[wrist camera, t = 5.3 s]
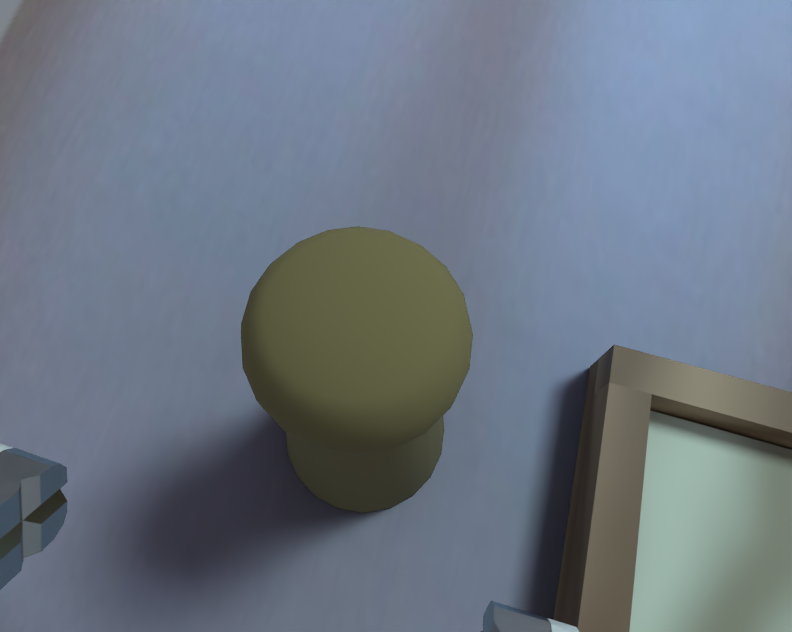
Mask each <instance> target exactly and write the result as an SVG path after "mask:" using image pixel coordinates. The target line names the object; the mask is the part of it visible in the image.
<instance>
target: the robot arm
mask: <svg viewBox="0 0 792 632" xmlns="http://www.w3.org/2000/svg"><path fill="white" fill-rule="evenodd" d="M66 483H67V468H66V467H65V466H63V465H62V464H60V463H57V462H54V461H51V460H48V459H45V458H43V457H40V456H37V455H34V454H31V453H28V452H25V451H23V450H20V449H17V448H12V447H10V446H7V445H4V444H1V443H0V590H1V589H2V588H3V587H4V586H5V585H6V584H7V583H8V582H9V581H10V580H11V579H12V578H14V577H15V576H16V575H17V574H18V573H19V572H20V571H21V569H22V564H23V558H25V557H28V556H31V555H33V554H36V553H39V552H41V551H42V550H43V549H44V548H45V547H46V546H47V545H48V544H49V543H50V542H51V541H53V540H54V538H55V536H56V535H57V533H58V532H59V530H60V529H61V527H62V525H63V523H64V520H65V517H66V513H67V500H66V498H65V497H64V495H63V493H62V492H61V490H60V488H61V487H63V486H64V485H65V484H66ZM481 632H579V631H578V629H577V627H575V626H571V625H568V624H565V623H562V622H558V621H555V620H552V619H549V618H548V619H546V618H545V617H542V616H539V615H536V614H532V613H529V612H526V611H523V610H520V609H516V608H513V607H510V606H507V605H503V604H500V603H497V602H494V601H491V602H490V603H489V605H488V606H487V609H486V611H485V613H484V616H483V631H481Z"/></svg>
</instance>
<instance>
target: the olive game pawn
mask: <svg viewBox="0 0 792 632" xmlns="http://www.w3.org/2000/svg"><path fill="white" fill-rule="evenodd" d="M472 338H473V333H472V329H471V324H470V320H469V316H468V311H467V307H466V303H465V299H464V294H463V293H462V291H461V289H460V288H459V286H458V285H457V283H456V281H455V280H454V278H453V277H452V275H451V273H450V272H449V270H448V269H447V267H446V266H445V265H444V264H443V263H441V262H440V261H439V260H438V259H437V258H436V257H434V256H433V255H432V254H431V253H430V252H429V251H427V250H426V249H425V248H424V247H423V246H421V245H419V244H417V243H415V242H412V241H410V240H408V239H406V238H404V237H401V236H399V235H397V234H395V233H392V232H390V231H386V230H379V229H372V228H366V227H359V226H358V227H350V228H341V229H333V230H327V231H325V232H322V233H320V234H317V235H315V236H312V237H310V238H307V239H305V240H302V241H300V242H298V243H297V244H295V245H294V246H293V247H291V248H290V249H289V250H288V251H286V252H285V253H284V254H283V255H281V256H280V257H279V258H277V259H276V260H275V261H274V262H272V263H271V264H270V265H269V266H268V268H267V269H266V271H265V272H264V273H263V275H262V276H261V278H260V279H259V281H258V282H257V283H256V285H255V286H254V288H253V289H252V291H251V293H250V296H249V299H248V303H247V306H246V310H245V313H244V316H243V320H242V323H241V344H242V363H243V369H244V372H245V374H246V376H247V379H248V381H249V383H250V386H251V388H252V390H253V393H254V395H255V398H256V400H257V401H258V402H259V404H260V405H261V406H262V407H263V408H264V409H265V411H266V412H267V413H268V414H269V415H270V416H271V417H272V418H273V419H274V420H275V421H276V422H277V424H278V425H279V426H280V427H281V428H282V429H283V430H284V431H285V432H286V438H287V450H288V455H289V458H290V460H291V462H292V465H293V467H294V469H295V472H296V474H297V476H298V478H299V479H300V480H301V481H302V482H303V483H304V484H305V485H306V487H307V488H308V489H309V490H310V491H311V492H312V493H313V494H314V495H315V496H316V497H318V498H320V499H321V500H323V501H325V502H327V503H329V504H331V505H332V506H334V507H336V508H338V509H344V510H350V511H356V512H362V513H365V512H371V511H377V510H383V509H389V508H391V507H393V506H395V505H397V504H399V503H401V502H402V501H404V500H406V499H408V498H410V497H412V496H413V495H414V494H415V493H416V492H417V491H418V490H419V489H420V488H421V487H422V486H423V484H424V483H425V482H426V481H427V480H428V479H429V478H430V477H431V475H432V473H433V470H434V468H435V466H436V464H437V462H438V460H439V457H440V455H441V451H442V442H443V434H444V422H443V415H444V414H445V413H446V412H447V411H448V410H449V409H450V408H451V406H452V404H453V402H454V400H455V398H456V396H457V394H458V392H459V390H460V388H461V385H462V383H463V381H464V379H465V377H466V375H467V373H468V371H469V367H470V358H471V348H472Z"/></svg>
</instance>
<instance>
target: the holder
mask: <svg viewBox="0 0 792 632" xmlns="http://www.w3.org/2000/svg"><path fill="white" fill-rule="evenodd" d="M553 620H555V621H558V622H562V623H565V624H568V625H571V626H575V627H577V629H578V631H579V632H792V392H788V391H785V390H781V389H777V388H773V387H770V386H766V385H762V384H759V383H755V382H751V381H747V380H744V379H740V378H736V377H733V376H729V375H725V374H722V373H718V372H714V371H710V370H707V369H703V368H699V367H696V366H692V365H688V364H684V363H681V362H677V361H673V360H670V359H666V358H662V357H659V356H655V355H651V354H647V353H644V352H640V351H636V350H633V349H629V348H625V347H621V346H618V345H613V346H612V347H611V348H610V349H609V350H608V351H607V352H606V353H605V354H603V355H602V356H601V357H600V358H599V359H598V360H597V361H596V362H595V363H594V364H593V365H592V366H590V370H589V377H588V384H587V391H586V398H585V405H584V411H583V418H582V425H581V432H580V439H579V446H578V453H577V459H576V466H575V473H574V480H573V487H572V494H571V500H570V507H569V514H568V521H567V528H566V535H565V542H564V548H563V555H562V562H561V569H560V576H559V583H558V589H557V596H556V603H555V610H554V617H553Z"/></svg>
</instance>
